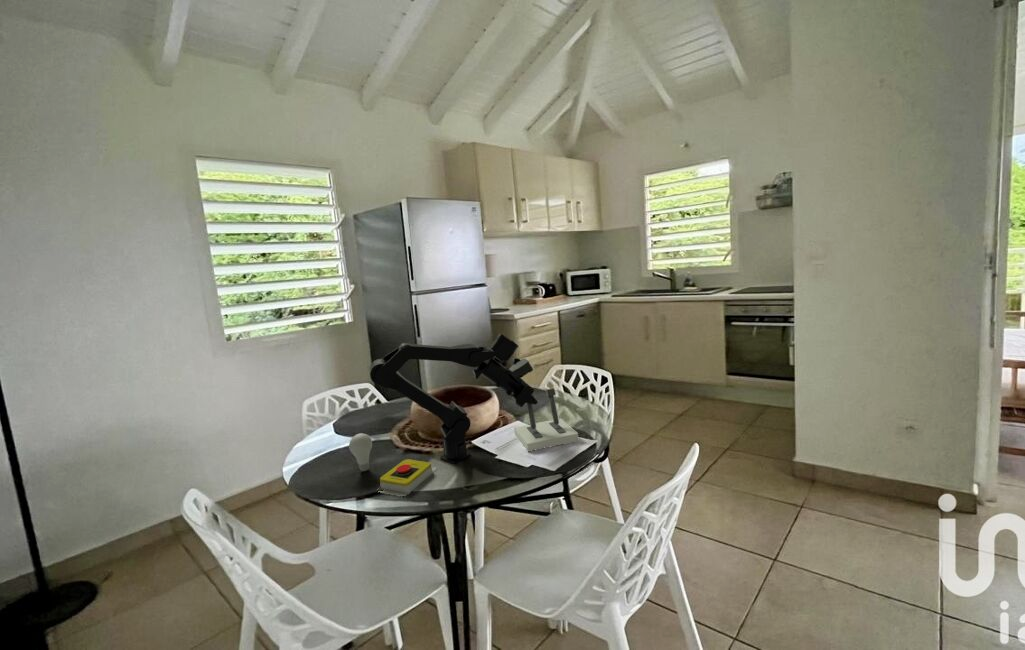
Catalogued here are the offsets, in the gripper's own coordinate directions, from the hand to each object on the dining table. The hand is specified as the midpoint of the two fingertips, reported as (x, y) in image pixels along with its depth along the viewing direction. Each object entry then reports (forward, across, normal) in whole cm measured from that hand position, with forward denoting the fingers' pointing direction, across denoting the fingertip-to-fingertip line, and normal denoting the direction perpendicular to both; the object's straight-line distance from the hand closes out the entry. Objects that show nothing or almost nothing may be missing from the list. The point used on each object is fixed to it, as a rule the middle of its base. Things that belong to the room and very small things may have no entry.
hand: (536, 403), depth 132 cm
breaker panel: (+9, -1, +7) cm, 12 cm away
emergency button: (-20, -8, +37) cm, 43 cm away
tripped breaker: (+5, -1, +7) cm, 9 cm away
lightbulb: (-29, +2, +44) cm, 53 cm away
